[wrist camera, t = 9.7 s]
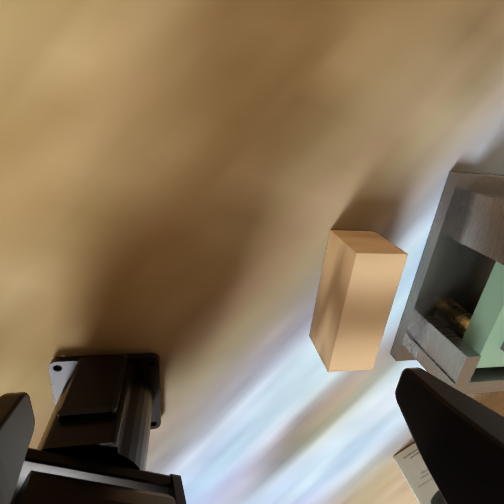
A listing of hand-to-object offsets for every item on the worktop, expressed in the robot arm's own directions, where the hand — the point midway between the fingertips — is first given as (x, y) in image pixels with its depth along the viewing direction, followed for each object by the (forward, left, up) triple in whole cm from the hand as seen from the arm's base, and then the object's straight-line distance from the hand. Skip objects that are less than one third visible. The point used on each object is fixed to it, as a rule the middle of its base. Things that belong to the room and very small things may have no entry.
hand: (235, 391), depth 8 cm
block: (-4, -9, -12) cm, 16 cm away
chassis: (-3, -20, -12) cm, 24 cm away
